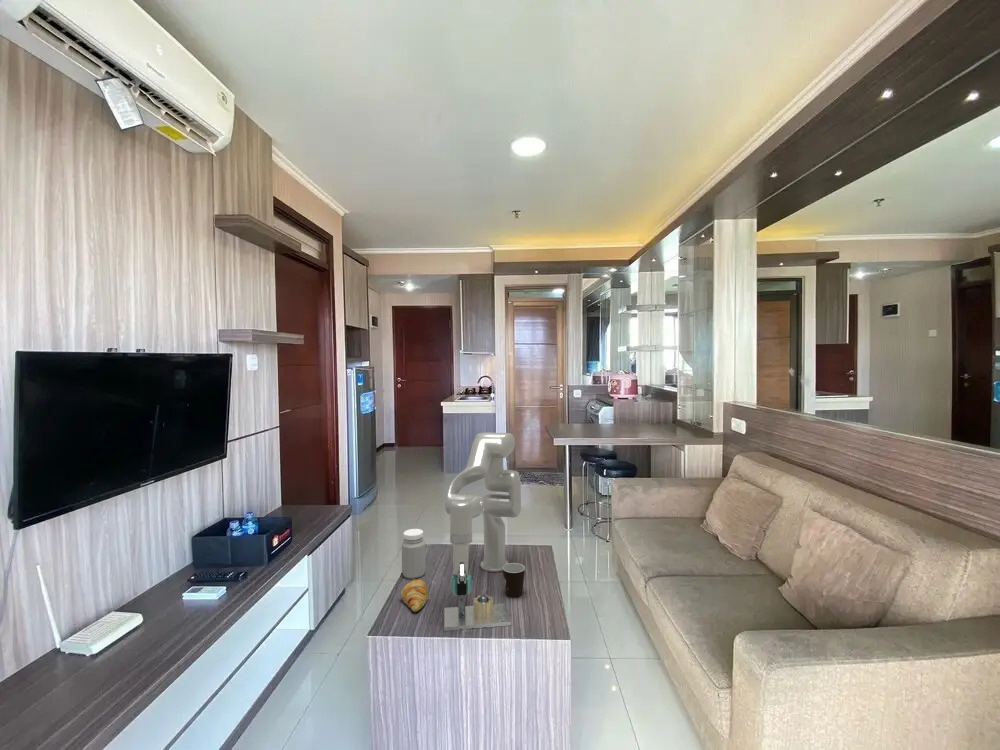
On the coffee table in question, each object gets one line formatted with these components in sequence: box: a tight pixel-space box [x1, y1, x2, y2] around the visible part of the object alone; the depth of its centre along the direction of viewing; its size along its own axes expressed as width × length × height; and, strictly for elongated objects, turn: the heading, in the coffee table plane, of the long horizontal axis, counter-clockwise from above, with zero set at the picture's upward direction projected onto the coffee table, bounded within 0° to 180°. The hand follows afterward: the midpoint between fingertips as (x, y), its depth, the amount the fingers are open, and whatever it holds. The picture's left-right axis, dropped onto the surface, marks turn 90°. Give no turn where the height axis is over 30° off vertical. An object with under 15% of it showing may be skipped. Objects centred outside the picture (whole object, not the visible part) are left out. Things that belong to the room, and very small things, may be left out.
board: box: [443, 594, 511, 632], centre depth 147 cm, size 12×22×7 cm, turn 97°
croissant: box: [400, 578, 430, 613], centre depth 160 cm, size 21×10×8 cm, turn 14°
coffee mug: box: [502, 562, 526, 599], centre depth 165 cm, size 12×9×10 cm
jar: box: [401, 528, 426, 580], centre depth 181 cm, size 10×10×18 cm
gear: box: [450, 572, 472, 597], centre depth 146 cm, size 7×7×5 cm
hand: (461, 589), depth 146 cm, fingers closed on gear, 6 cm apart
